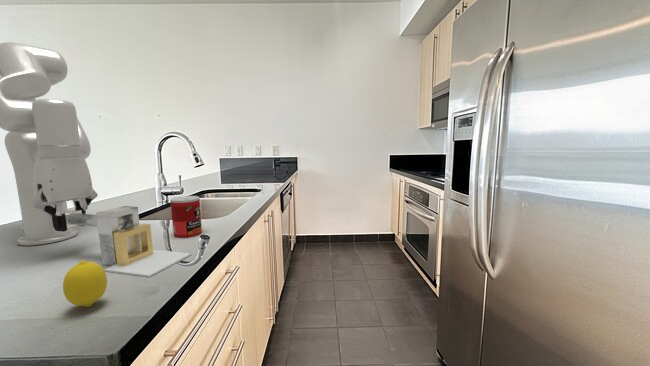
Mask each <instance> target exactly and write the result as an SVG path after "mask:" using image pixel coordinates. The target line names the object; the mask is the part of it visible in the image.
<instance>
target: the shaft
mask: <svg viewBox="0 0 650 366" xmlns="http://www.w3.org/2000/svg"><path fill="white" fill-rule="evenodd" d="M62 215H65V217H66V224H67V228H74V227H79V226H78V225H82V226H81V227H96V228H98V226H97V218H96V214H93V213H92V214H91V213H86V214H82V210H75V209H68V211H63V212H62ZM127 224H128V219H127V218H126V217H124V216H120V217H118V226H119V229H123V228H125V227H126V226H127Z"/></svg>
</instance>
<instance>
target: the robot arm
mask: <svg viewBox="0 0 650 366" xmlns="http://www.w3.org/2000/svg"><path fill="white" fill-rule="evenodd" d="M67 64H68V63H67V61H66V60H65V58H64V57H63V56H62V54H61V53H59V52H58V51H56V50H54V49H50V48H46V47H45V48H44V47H38V46H34V45H31V44H30V45H29V44H23V43H19V42H12V41H11V42H10V41H6V42H1V43H0V129H2V130H4V131H7V133H6V134H5V137H4V141H3V142H4V146H5V148H6V152H7V155H8V158H9V159H10V162H11V166H12V168H13V173H14V177H15V183H16V189H17V195H18V201H19V202H18V203H19V207H20V213H21V215H20V216H21V220H22V226H21V227H20V231H23V232H24V235H23V236H21V237H19V238H17V245H20V246H26V247H27V246H39V245H47V244H52V243H56V242H61V241H65V240H68V239H72V238H73V237H75V236H77V235H78V234H79V232H78V229H76V228H72V227H70V228H67V224H66V217H65V215H62V212H63V211H68V210H69V209H68V203H67V202H69V201H72V203H73V206H74V210H82V214H87V213H86V212H87V210H88V208H89V206H90V205H91V203H92V201H94V200H95V199H96V198H98V193H97V192H96V191H95V189H94V188H93V182H92V181H93V180H92V177H91V174H90V170H89V167H88V164H87V161H86V159H87V158H89V156H90V154H91V143H90V141H89V139H88V136H87V134H86V132H85V130H84V128H83V125H82V124H81V122H80V120H79V119H78V116H77V110H76V109H77V108H76V105H75V104H74V103H73V102H71V101H68V100H63V99H57V98H56V99H55V98H42V97H43V96H45V95H47V94H48V93H49V91H50V90H51V86H55V85H57V84H59V83H61V82H63V81H64V80H65V79H66V78H67V75H68V71H69V70H68V65H67ZM40 97H41V98H40ZM37 98H38V99H37ZM77 227H83V226H82V225H78V226H77Z"/></svg>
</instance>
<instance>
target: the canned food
mask: <svg viewBox="0 0 650 366" xmlns="http://www.w3.org/2000/svg"><path fill="white" fill-rule="evenodd" d="M200 201H201V200H200V196H197V195H181V196H176V197H172V198H170V210H171V211H170V213H171V220H172V221H171V223H172V232H173V233H172V234H173V235H174V237H176V238H179V239H180V238H181V239H182V238H192V236H193V237H196V236H199V235H200V234H202V231H203V230H202V229H203V228H202V215H201V214H202V213H201V202H200Z"/></svg>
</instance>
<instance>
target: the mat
mask: <svg viewBox="0 0 650 366" xmlns="http://www.w3.org/2000/svg"><path fill="white" fill-rule="evenodd" d="M191 256H192V253H190V252H180V251H173V250H172V251H169V250H160V249H153V254H152V255H149V256H147V257H145V258H142V259H140V260H138V261H135V262H133V263H131V264H128V265H126V266H119V265H117V264H116V265H114V266H109V267H107V268H105V269H104V268H103V269H104V271H105V273H107V272H108V273H115V274H122V275H128V276H129V275H130V276H136V277H143V278H144V277H145V278H151V277H153V276H155V275H157V274H159V273H161V272H162V271H164V270H167V269H168V268H170V267H172V266H174V265H176V264H177V263H179V262H182V261H183V260H184V259H185V260H186V259H187V258H189V257H191Z"/></svg>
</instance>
